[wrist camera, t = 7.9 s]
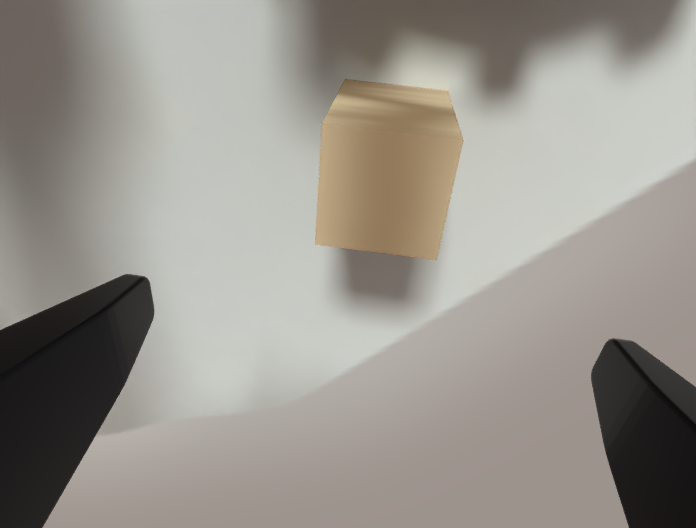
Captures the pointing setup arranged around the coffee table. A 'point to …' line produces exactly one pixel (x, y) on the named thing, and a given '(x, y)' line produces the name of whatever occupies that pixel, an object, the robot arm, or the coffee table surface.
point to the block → (387, 169)
